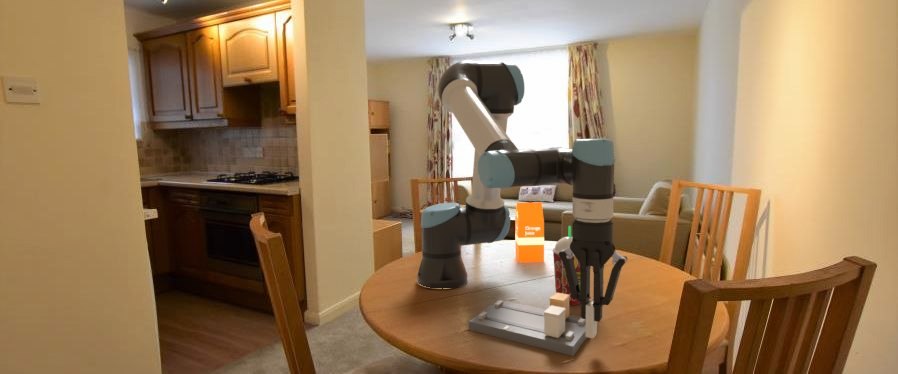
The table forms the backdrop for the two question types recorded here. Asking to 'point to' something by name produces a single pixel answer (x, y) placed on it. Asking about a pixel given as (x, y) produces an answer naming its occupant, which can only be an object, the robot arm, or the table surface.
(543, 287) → the table surface
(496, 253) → the table surface
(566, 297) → the orange fader
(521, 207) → the orange juice
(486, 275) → the table surface
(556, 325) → the cream fader
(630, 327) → the table surface
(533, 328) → the fader console
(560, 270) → the smoothie
